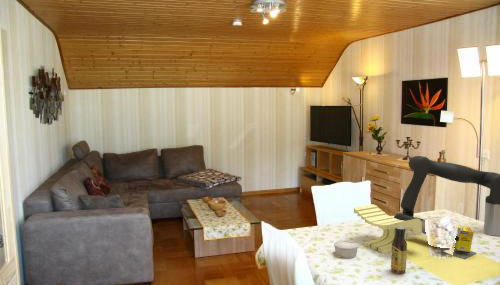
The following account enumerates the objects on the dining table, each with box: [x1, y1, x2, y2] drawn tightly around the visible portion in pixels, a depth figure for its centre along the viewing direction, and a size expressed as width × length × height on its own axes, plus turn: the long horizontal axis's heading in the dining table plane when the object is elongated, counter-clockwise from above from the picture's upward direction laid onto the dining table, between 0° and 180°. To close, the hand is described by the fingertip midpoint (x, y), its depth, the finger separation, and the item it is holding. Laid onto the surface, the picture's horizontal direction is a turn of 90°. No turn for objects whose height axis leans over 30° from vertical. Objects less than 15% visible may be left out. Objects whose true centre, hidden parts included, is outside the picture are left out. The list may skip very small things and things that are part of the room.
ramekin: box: [333, 240, 359, 259], centre depth 200 cm, size 11×11×5 cm
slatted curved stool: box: [353, 204, 423, 254], centre depth 209 cm, size 30×16×18 cm, turn 27°
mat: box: [452, 249, 477, 260], centre depth 200 cm, size 11×11×1 cm
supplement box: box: [454, 225, 475, 253], centre depth 198 cm, size 6×6×11 cm
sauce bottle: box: [390, 226, 408, 274], centre depth 179 cm, size 7×6×20 cm
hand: (463, 237), depth 198 cm, fingers closed on supplement box, 8 cm apart
